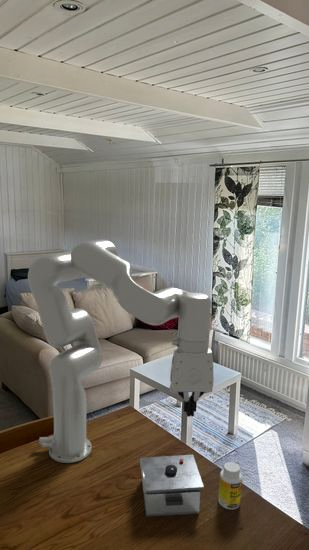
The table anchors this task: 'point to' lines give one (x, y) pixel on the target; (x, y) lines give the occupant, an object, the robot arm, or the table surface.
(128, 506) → the table surface
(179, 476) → the lid
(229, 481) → the supplement bottle
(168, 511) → the cooker pot
